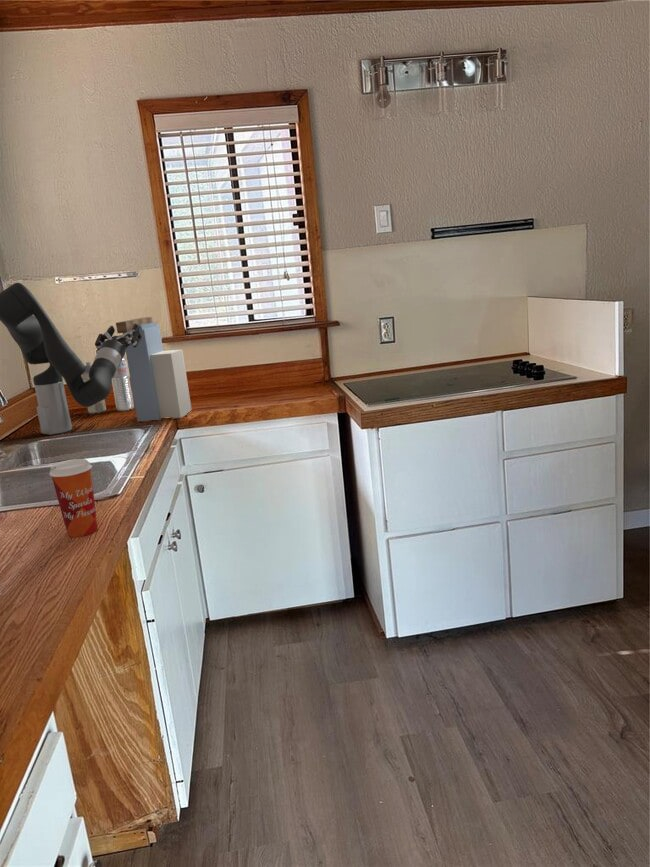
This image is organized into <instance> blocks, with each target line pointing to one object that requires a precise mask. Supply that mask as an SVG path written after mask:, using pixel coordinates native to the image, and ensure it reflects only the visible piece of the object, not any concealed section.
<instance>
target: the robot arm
mask: <svg viewBox="0 0 650 867" xmlns="http://www.w3.org/2000/svg"><path fill="white" fill-rule="evenodd" d="M0 322H1V323H2V324H3V325H4V326H5V327H6V329H7V331H8V333H9V335H10V336H11V337H12V339H13V340H14V342H16V344H17V345H18V347H19V349H20V351H21V354H22V356H23V358H24V359H25V361H26V363H28V364H29V365H43V364H49V366H48V368H46V369H45V370H43V372H39V374H35V375H34V376H33V379H32V381H33V385H34V389H35V394H36V400H37V404H38V406H36V413H37V417H38V422H39V427H40V431H41V434H44V435H56V434H60V433H61V434H63V433H67V432H69V431H71V430H73V425H72V420H71V414H70V411H69V405H68V400H67V395H66V394H67V393H66V389H65V385H66V386H67V388H68V390H69V392H70V394H71V396H72V397H73V399H74V401H75V402H77V404H79V405H80V406H82V407H84V408H88V407H90V406H92V405H94V404H96V403H98V402H100V401H102V400H104V399H106V398H108V396H109V395H110V393H111V391H112V378H113V376H114V374H115V372H116V370H117V369H118V367H119V365H120V363H121V361H122V359H123V357H124V355H125V356H126V348H127V347H128V346H133V347H134V348H135V347H137V345H138V343H139V342H140V340H141V338H142V336H141V334H140V331H139V326H138V325H137V324H134V325H133V327H132V330H131V331H130V332H128V333H127V332H126V333H124V334H123V333H122V334H119V335H114V334H115V332H116V330H115V327H114V325H110V326H109V327H108V328H107V330H106V331H105V332H104V333H99V334H98V335H97V338H96V340H95V342H94V347H95V348H96V350H97V353H96V355H95V357H94V361H93V362H92V363H91V365H92V366H91V368H90V370H89V378H90V380H88V381H86V382H84V381H83V379H82V374H83V373H84V372H85V369H86V367H85V366H86V364H84V363H83V361H82V360H81V359H80V358H79V357H78V356H77V354H76V353H75V351H74V350H73V349H72V348H71V347H70V346H69V344H67V342H66V340H65V338H64V337H63V336H62V335H61V333H60V331H59V330H58V328H57V327H56V325H55V324H54V322H53V321H52V319H51V318H50V316H49V315H48V314H47V311H45V309H44V308H43V306H42V305H41V303H40V302H39V301H38V299H37V298H36V297H35V296H34V294H33V293H32V292H31V291H30V290H29V289H28V287H26V285H24V284H22V283H20V282H15V283H13V284H11V285H9V287H7V288H5V289H4V290H2V291H1V292H0ZM131 334H132V335H133V336H132V337H131V336H130V335H131ZM126 336H127V338H128V341H127V339H126V338H125V337H126ZM63 379H64V380H63ZM64 382H65V384H64Z"/></svg>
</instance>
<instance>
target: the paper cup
mask: <svg viewBox="0 0 650 867" xmlns="http://www.w3.org/2000/svg"><path fill="white" fill-rule="evenodd" d="M92 468H93V464H91V463H90V461H88V460H87V459H85V458H74V459H68V460H63V461H60V462H57V463H54V464H53V465H51V466H50V472H49V476H50V477H51V478H52V482H53V486H54V489H55V493H56V498H57V501H58V502H57V503H58V505H59V508H60V512H61V517H62V520H63V522H64V526H65V530H66V534H67V535H68V537H70V538H83V537H86V536H90V535H92V534H95V533H96V532H97V531H98V529H99V528H98V517H97V510H96V509H97V508H96V502H95V494H94V486H93V479H92V472H91V470H92Z"/></svg>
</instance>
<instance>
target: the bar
mask: <svg viewBox="0 0 650 867" xmlns="http://www.w3.org/2000/svg"><path fill="white" fill-rule="evenodd" d="M153 322H154V321H153V316H149V317H148V316H147V317H139V318H134V319H130V320H123V321H118V322H115V326H116V333H117V334H123V333H126V332H127V333H128V332H130V331H131V330H132V327H133V325H134V324H137V325H138V326H139V325H144V324H149V323H153Z"/></svg>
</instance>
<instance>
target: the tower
mask: <svg viewBox="0 0 650 867" xmlns="http://www.w3.org/2000/svg"><path fill="white" fill-rule="evenodd" d="M160 328H161V327H160V325H158V323H157V321H153V323H149V324H144V325H139V331H140V334H141V336H142V338H141V340H140V342H139V343H138V345H137V347H135V348H134V347H133V346H128V347H127V348H126V351H125V356H126V363H127V368H128V374H129V379H130V384H131V390H132V396H133V402H134V409H135V414H136V415H135V416H136V419H137V420H136V421H137V422H139V421H142V422H150V421H149V420H158V421H160V420H162V419H161V416H160V410H159V404H158V397H157V391H156V385H155V379H154V373H153V366H152V360H151V355H152V354H155V353H158V352H162V351H164V348H163V341H162V335H161V329H160ZM123 334H124V333H122V335H123ZM130 336H131V337H132V336H133V335H132V334H131V335H130ZM125 338H126V339H127V341H128V338H127V336H126V337H125ZM159 419H160V420H159Z"/></svg>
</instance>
